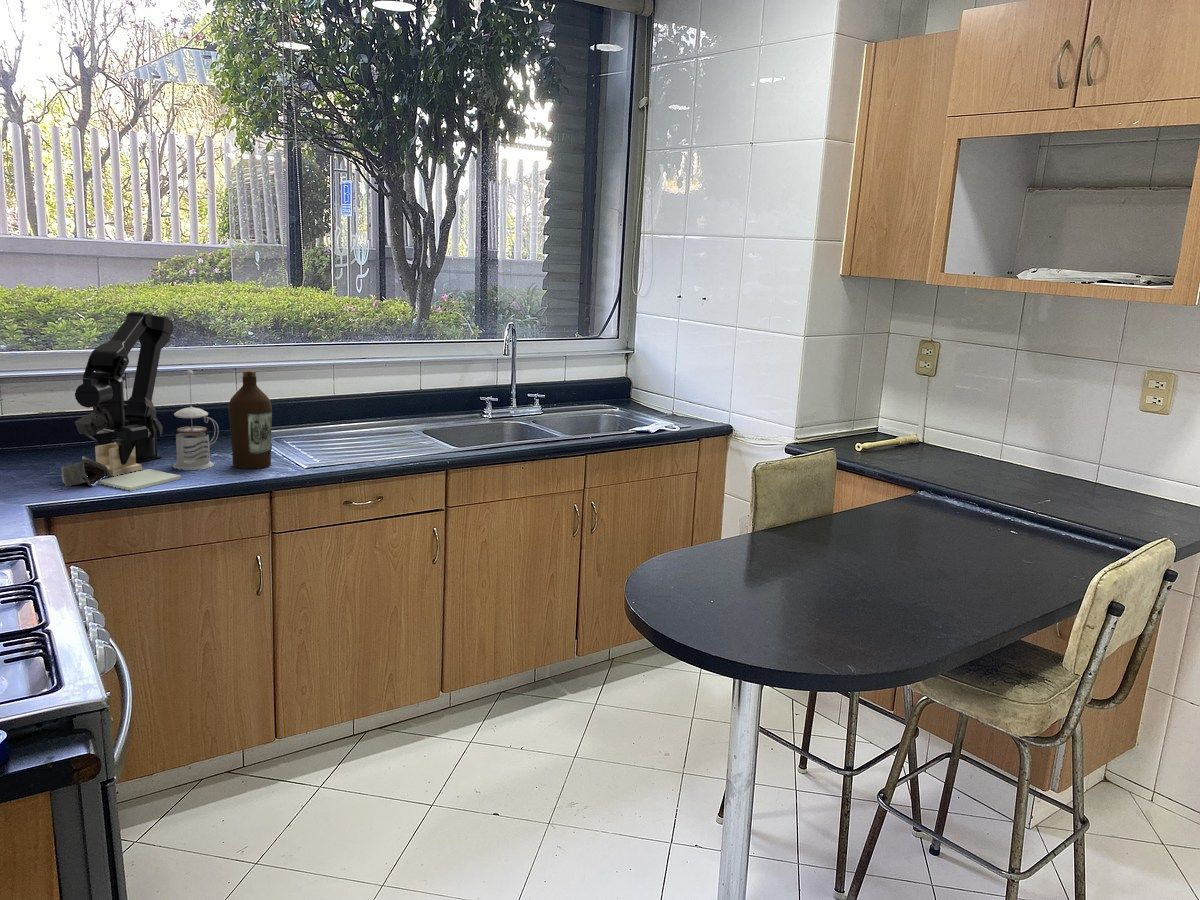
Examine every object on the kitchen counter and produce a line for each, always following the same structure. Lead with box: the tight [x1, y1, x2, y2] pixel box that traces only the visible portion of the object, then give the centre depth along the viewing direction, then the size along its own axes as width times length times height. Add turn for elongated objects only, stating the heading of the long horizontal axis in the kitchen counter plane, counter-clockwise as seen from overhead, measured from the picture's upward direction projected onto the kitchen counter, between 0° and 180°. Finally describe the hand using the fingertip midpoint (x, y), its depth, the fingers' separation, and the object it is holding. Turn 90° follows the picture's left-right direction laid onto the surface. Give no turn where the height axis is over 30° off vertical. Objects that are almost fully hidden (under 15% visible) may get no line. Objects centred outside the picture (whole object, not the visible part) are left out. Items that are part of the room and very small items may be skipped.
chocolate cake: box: [60, 455, 110, 487], centre depth 212 cm, size 10×7×12 cm
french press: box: [172, 369, 220, 471], centre depth 231 cm, size 10×12×25 cm
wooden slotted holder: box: [94, 441, 143, 477], centre depth 223 cm, size 8×8×6 cm
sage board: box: [98, 468, 182, 492], centre depth 215 cm, size 14×11×1 cm
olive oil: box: [228, 369, 273, 470], centre depth 234 cm, size 11×11×25 cm
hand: (114, 462), depth 223 cm, fingers closed on wooden slotted holder, 6 cm apart
